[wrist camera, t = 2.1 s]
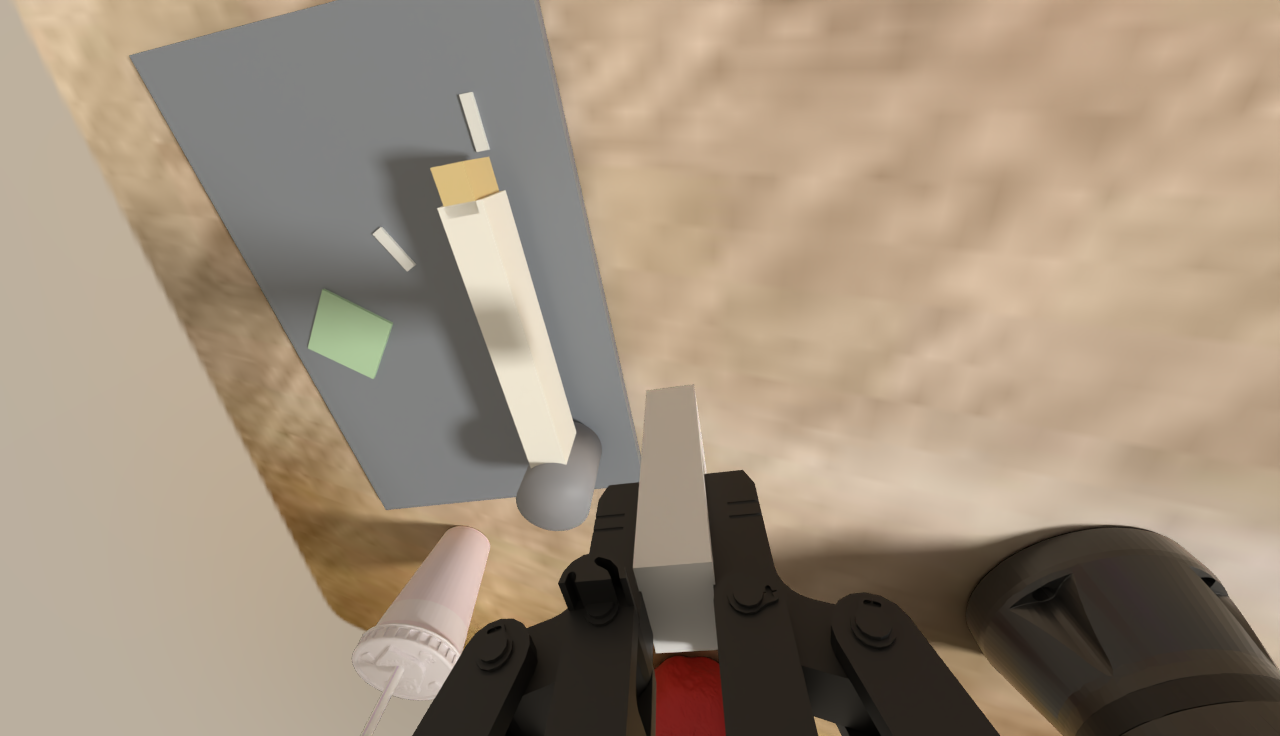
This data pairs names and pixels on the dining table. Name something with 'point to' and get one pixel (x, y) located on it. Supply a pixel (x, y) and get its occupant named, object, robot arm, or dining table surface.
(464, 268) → the lever
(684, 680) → the pomegranate
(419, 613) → the smoothie
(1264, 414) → the dining table surface
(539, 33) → the dial plate
